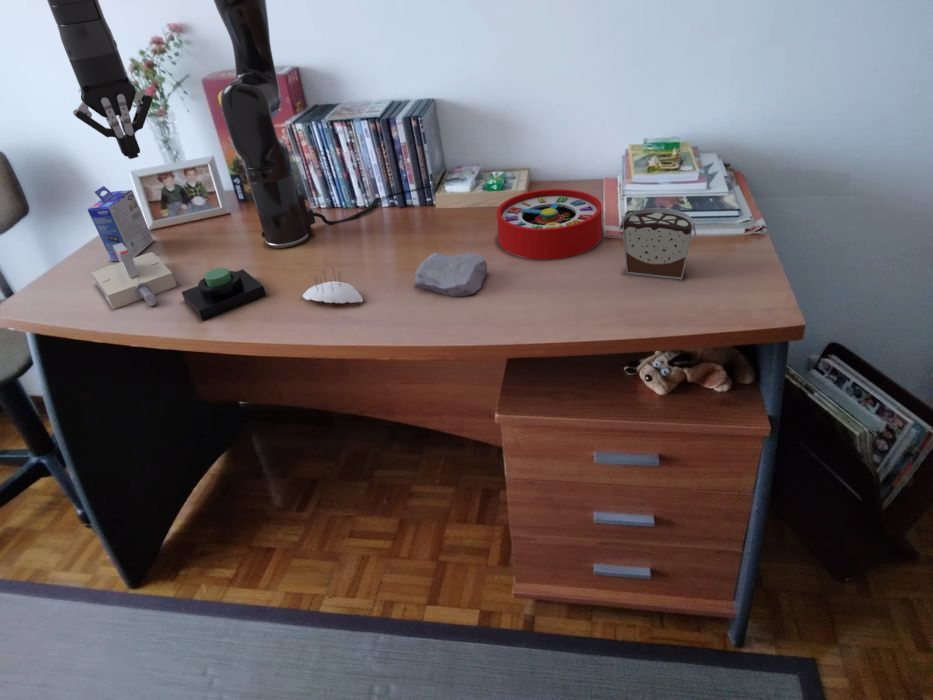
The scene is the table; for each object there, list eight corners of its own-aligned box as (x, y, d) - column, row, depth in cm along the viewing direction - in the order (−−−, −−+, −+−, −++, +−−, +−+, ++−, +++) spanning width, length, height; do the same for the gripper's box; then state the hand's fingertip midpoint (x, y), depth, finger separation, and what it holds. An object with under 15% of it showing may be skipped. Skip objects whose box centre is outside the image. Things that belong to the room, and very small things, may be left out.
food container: (697, 264, 117) (702, 209, 111) (691, 280, 112) (696, 224, 107) (626, 257, 122) (628, 204, 116) (617, 272, 117) (619, 218, 112)
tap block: (157, 264, 141) (151, 250, 139) (177, 286, 131) (171, 271, 129) (97, 285, 135) (90, 271, 134) (113, 309, 126) (107, 294, 124)
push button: (226, 273, 125) (224, 265, 124) (235, 281, 122) (232, 272, 121) (203, 282, 123) (200, 273, 122) (212, 290, 120) (208, 281, 119)
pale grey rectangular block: (122, 268, 133) (111, 244, 130) (131, 265, 134) (121, 241, 131) (130, 278, 129) (119, 254, 126) (139, 275, 130) (129, 250, 127)
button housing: (246, 279, 131) (240, 260, 128) (266, 296, 124) (260, 276, 121) (185, 302, 125) (177, 283, 123) (202, 321, 118) (195, 301, 116)
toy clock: (582, 234, 118) (479, 224, 126) (582, 264, 121) (482, 252, 129) (614, 192, 132) (520, 185, 140) (614, 220, 135) (522, 212, 144)
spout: (152, 293, 129) (147, 280, 127) (161, 302, 125) (155, 289, 123) (138, 298, 127) (132, 285, 126) (145, 308, 124) (140, 295, 122)
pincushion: (294, 306, 119) (286, 278, 116) (312, 289, 124) (304, 262, 121) (354, 312, 115) (347, 282, 112) (370, 294, 120) (364, 266, 117)
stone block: (475, 306, 116) (491, 269, 122) (470, 285, 113) (486, 248, 119) (412, 303, 120) (431, 267, 126) (405, 282, 117) (425, 247, 123)
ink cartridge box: (132, 242, 153) (106, 180, 145) (154, 241, 152) (130, 178, 144) (109, 262, 145) (80, 197, 137) (132, 260, 144) (105, 196, 136)
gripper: (128, 42, 115) (164, 143, 124) (44, 58, 108) (89, 163, 118) (140, 45, 109) (176, 151, 119) (52, 62, 103) (98, 172, 113)
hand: (132, 157), depth 118 cm, fingers closed
